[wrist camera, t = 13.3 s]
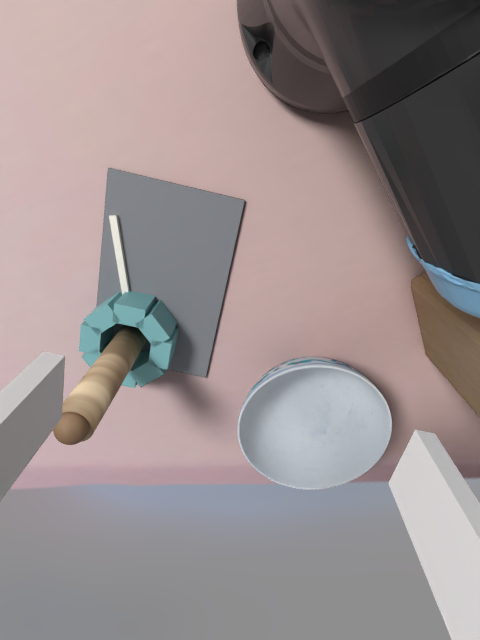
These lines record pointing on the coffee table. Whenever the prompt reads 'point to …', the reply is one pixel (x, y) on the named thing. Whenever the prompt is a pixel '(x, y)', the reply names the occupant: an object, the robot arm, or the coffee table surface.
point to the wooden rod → (99, 387)
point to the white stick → (119, 253)
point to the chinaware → (314, 424)
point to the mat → (172, 256)
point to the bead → (138, 314)
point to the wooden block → (449, 339)
